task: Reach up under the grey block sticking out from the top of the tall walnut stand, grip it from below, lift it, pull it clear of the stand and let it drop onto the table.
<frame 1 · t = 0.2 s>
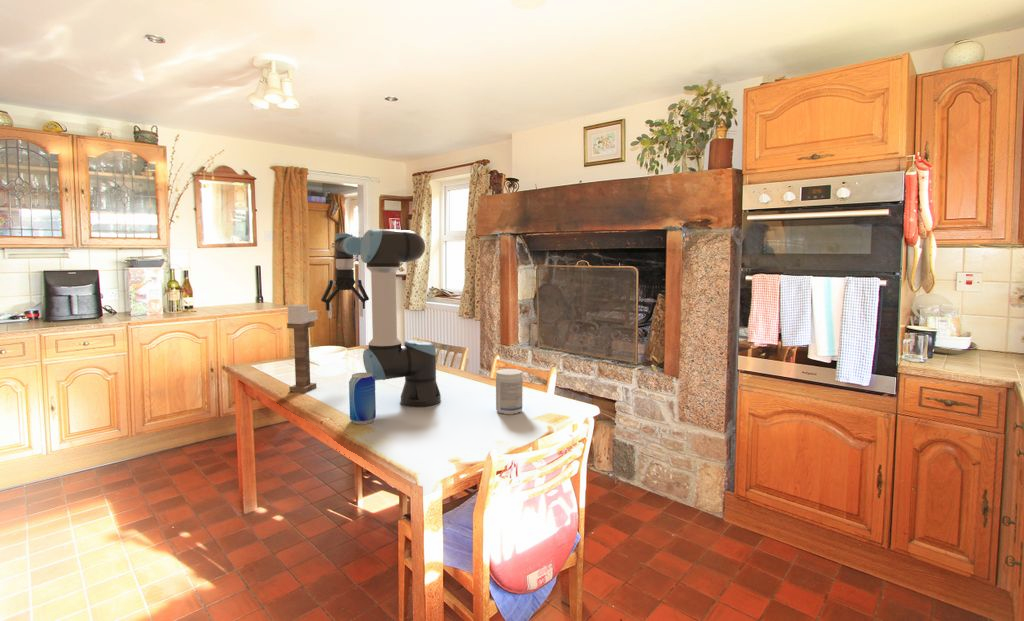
hand: (345, 317, 226), 28 cm above the table, tool pointing down, fingers open, 13 cm apart
grey block: (302, 321, 208), point 28 cm above the table, touching walnut stand
walnut stand: (304, 389, 211), on the table
beer can: (363, 421, 173), on the table
supplement tub: (508, 411, 186), on the table
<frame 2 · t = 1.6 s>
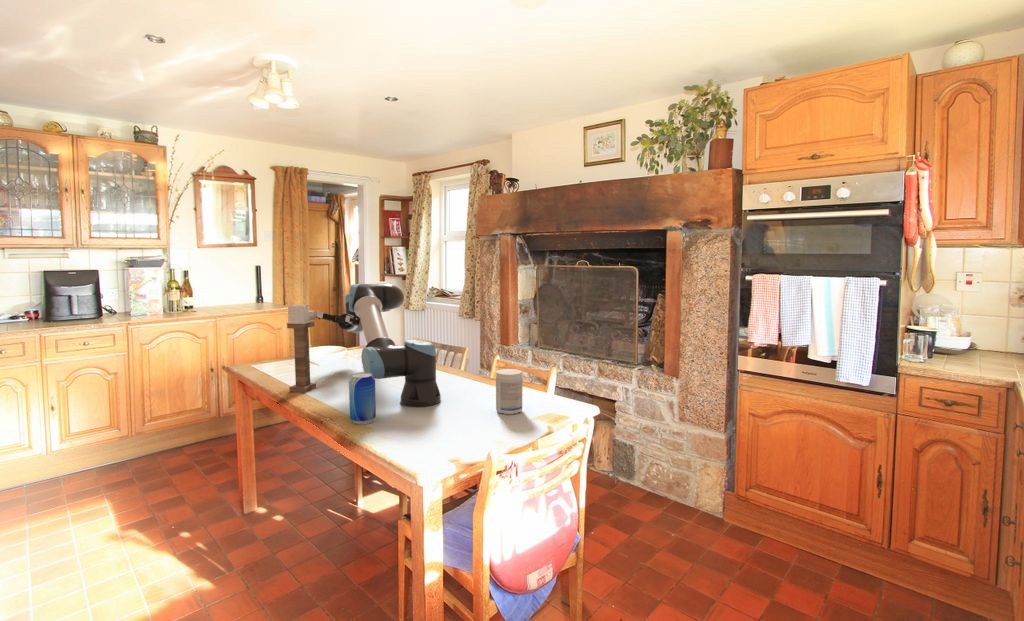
hand: (331, 315, 223), 29 cm above the table, tool pointing upward, fingers open, 13 cm apart
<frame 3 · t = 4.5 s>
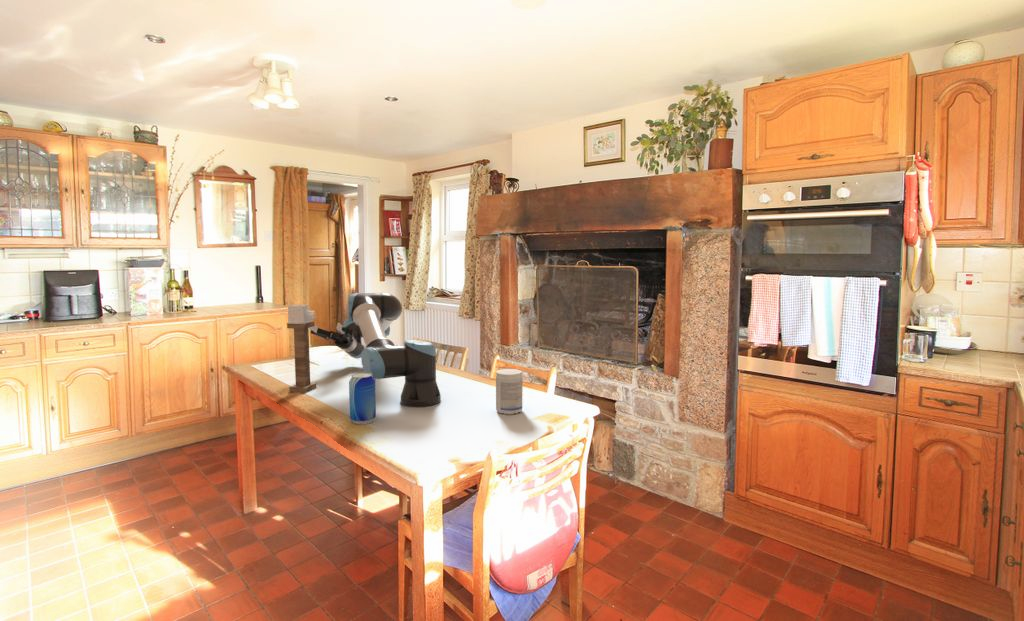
hand: (323, 325, 224), 25 cm above the table, tool pointing upward, fingers open, 13 cm apart
nothing on the table moved.
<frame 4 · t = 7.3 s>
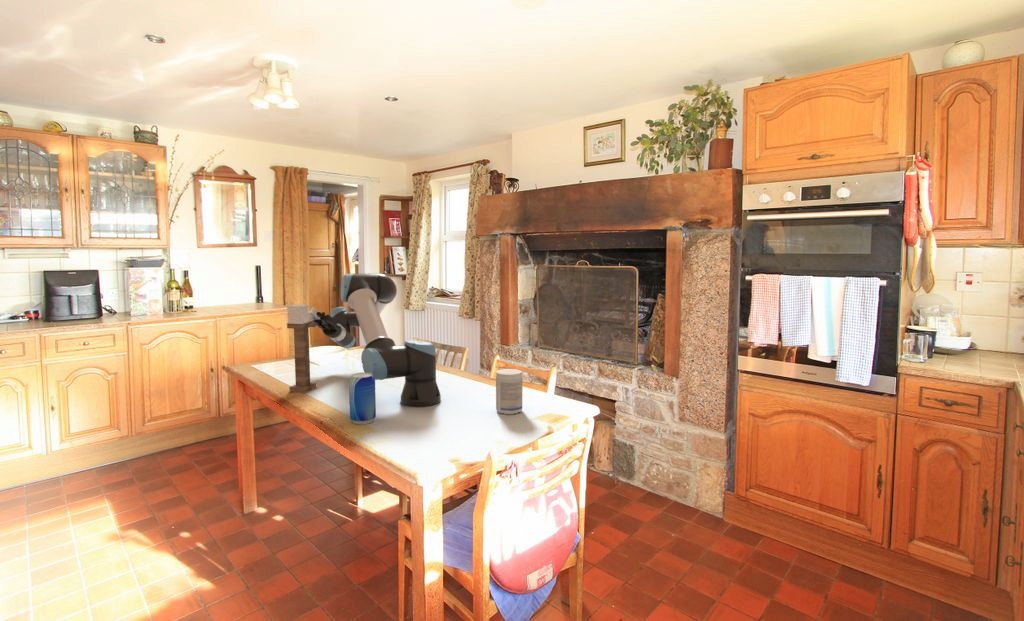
hand: (307, 309, 211), 32 cm above the table, tool pointing upward, fingers closed on grey block, 3 cm apart
grey block: (302, 322, 208), point 28 cm above the table, touching gripper
everything else where it was.
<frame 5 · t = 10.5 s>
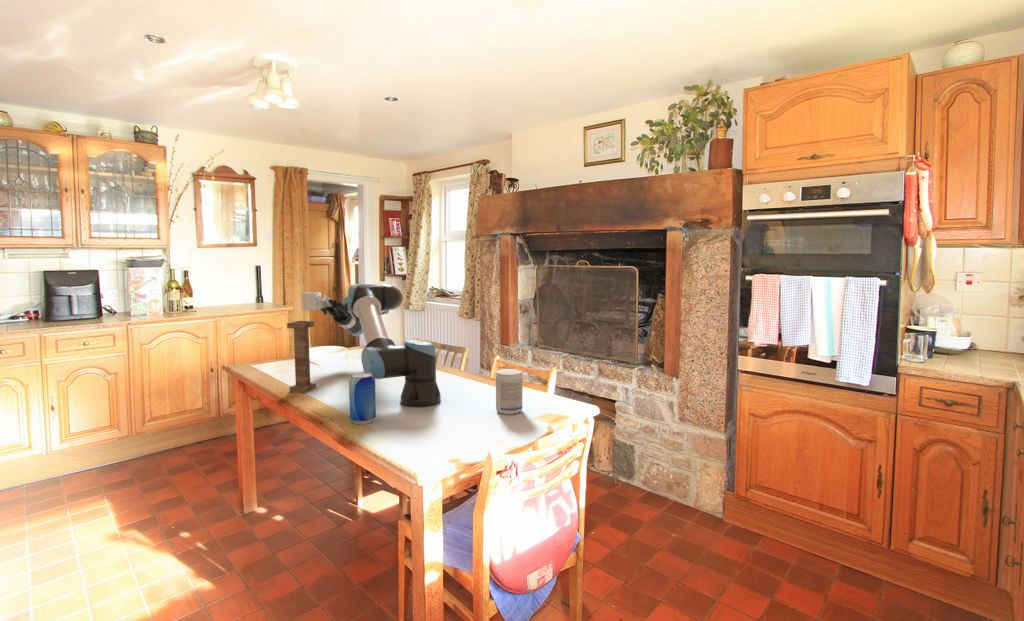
hand: (320, 297, 221), 37 cm above the table, tool pointing upward, fingers closed on grey block, 3 cm apart
grey block: (315, 308, 217), point 32 cm above the table, touching gripper
everything else where it was.
when the fingers open (26 cm above the table, at t = 13.3 s): grey block drops 21 cm, on the table.
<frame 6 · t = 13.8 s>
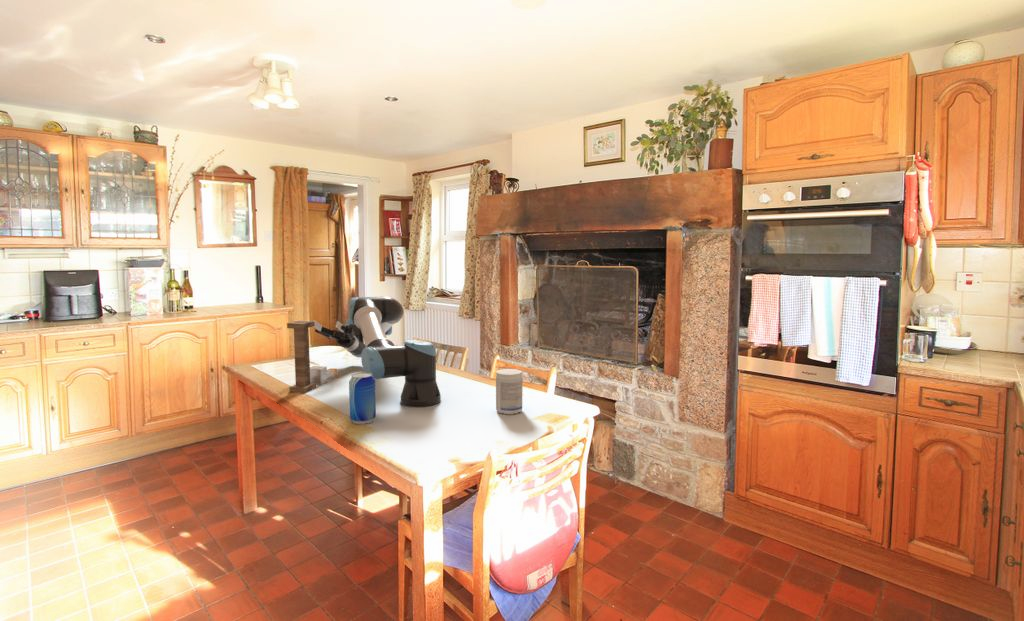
hand: (325, 323, 225), 25 cm above the table, tool pointing upward, fingers open, 10 cm apart
grey block: (320, 382, 223), on the table
everything else where it was.
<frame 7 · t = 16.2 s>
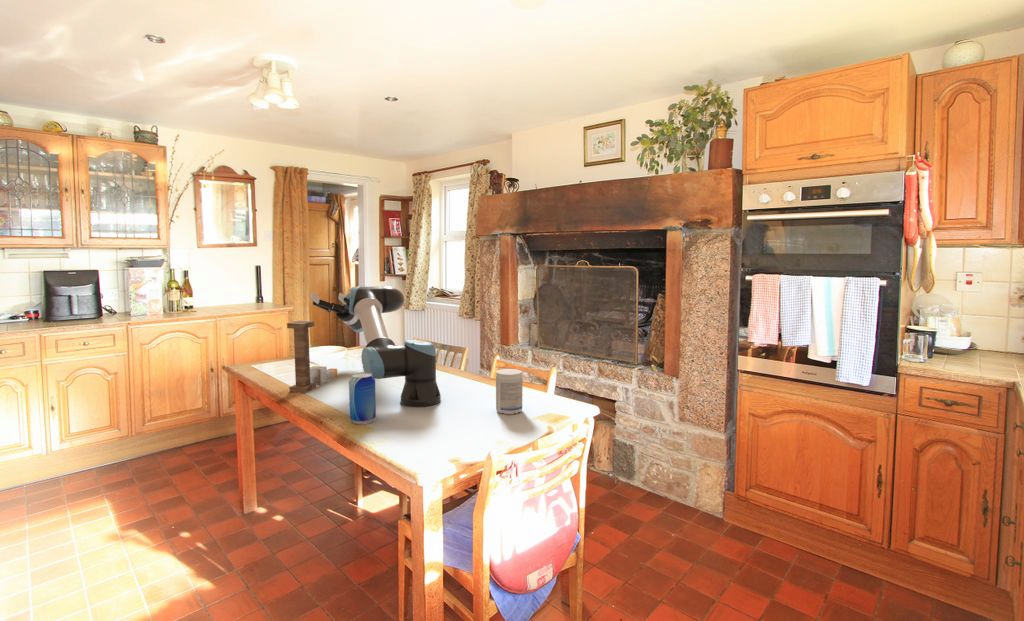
hand: (325, 295, 224), 37 cm above the table, tool pointing upward, fingers open, 13 cm apart
nothing on the table moved.
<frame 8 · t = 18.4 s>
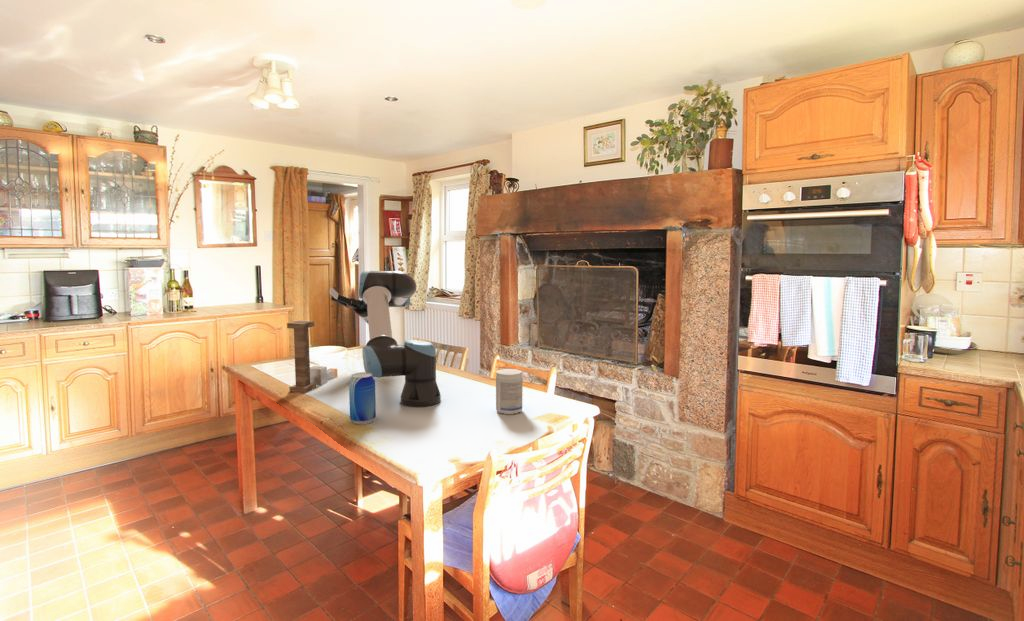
hand: (344, 290, 224), 40 cm above the table, tool pointing upward, fingers open, 13 cm apart
nothing on the table moved.
at the end: the gripper is holding nothing; grey block on the table; grey block moved 30.5 cm from its start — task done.
